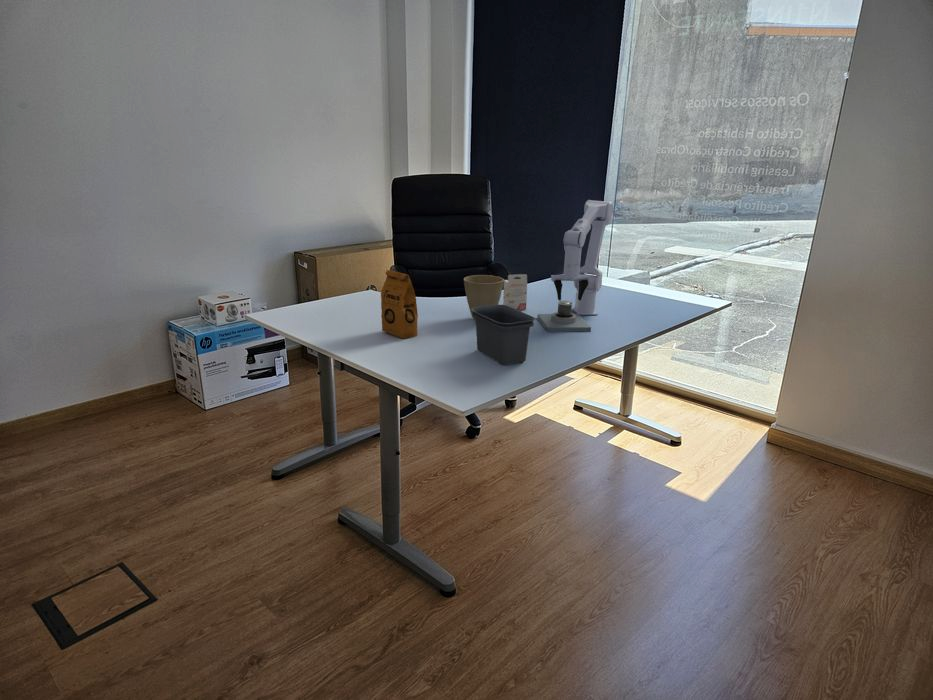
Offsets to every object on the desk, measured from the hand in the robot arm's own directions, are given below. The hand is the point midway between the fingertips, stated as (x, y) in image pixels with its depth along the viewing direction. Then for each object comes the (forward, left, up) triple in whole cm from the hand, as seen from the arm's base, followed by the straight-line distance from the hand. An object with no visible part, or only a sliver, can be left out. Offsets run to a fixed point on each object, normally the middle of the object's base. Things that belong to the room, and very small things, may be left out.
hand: (569, 299), depth 224 cm
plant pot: (-5, -32, -10) cm, 34 cm away
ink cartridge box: (-21, -17, -10) cm, 29 cm away
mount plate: (+1, -2, -9) cm, 9 cm away
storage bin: (+35, -30, -10) cm, 47 cm away
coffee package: (+12, -63, -10) cm, 65 cm away
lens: (+1, -2, -8) cm, 8 cm away
